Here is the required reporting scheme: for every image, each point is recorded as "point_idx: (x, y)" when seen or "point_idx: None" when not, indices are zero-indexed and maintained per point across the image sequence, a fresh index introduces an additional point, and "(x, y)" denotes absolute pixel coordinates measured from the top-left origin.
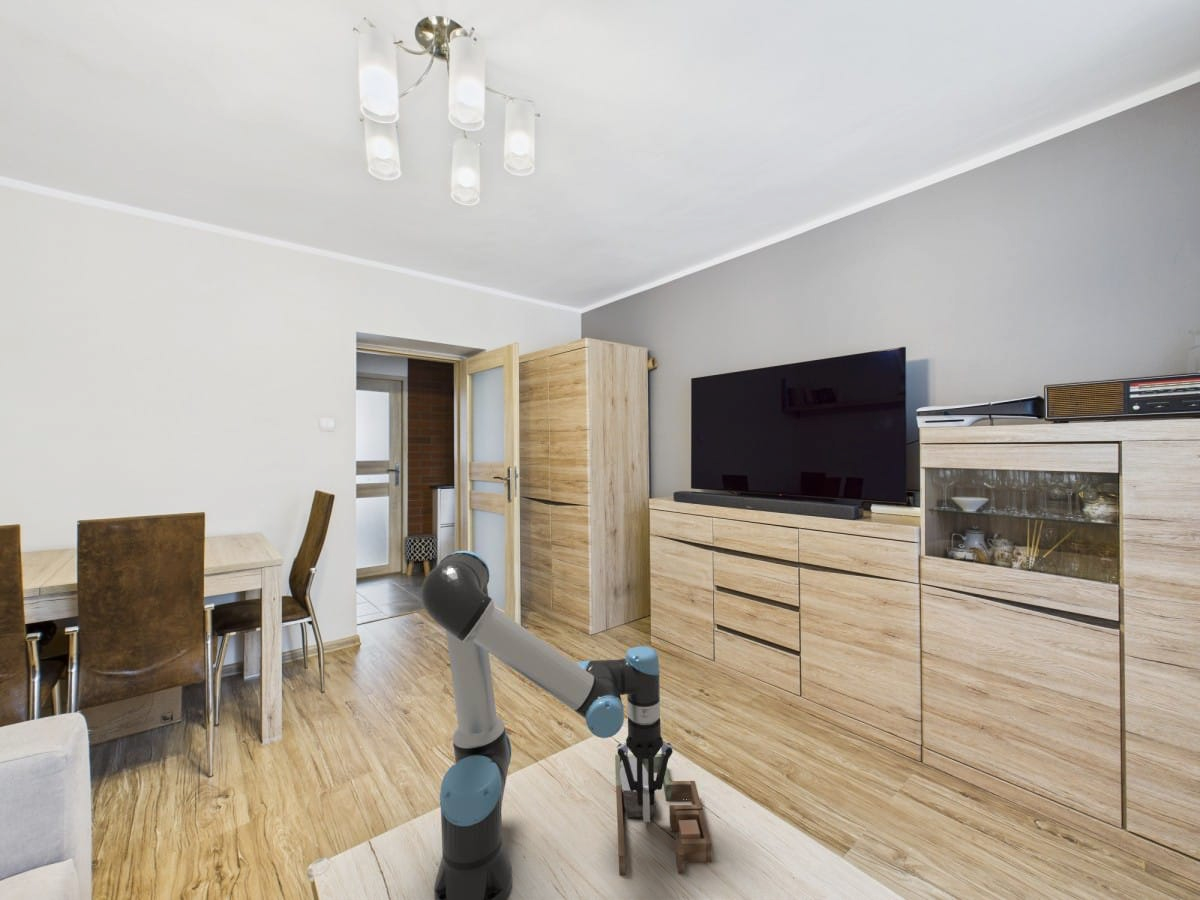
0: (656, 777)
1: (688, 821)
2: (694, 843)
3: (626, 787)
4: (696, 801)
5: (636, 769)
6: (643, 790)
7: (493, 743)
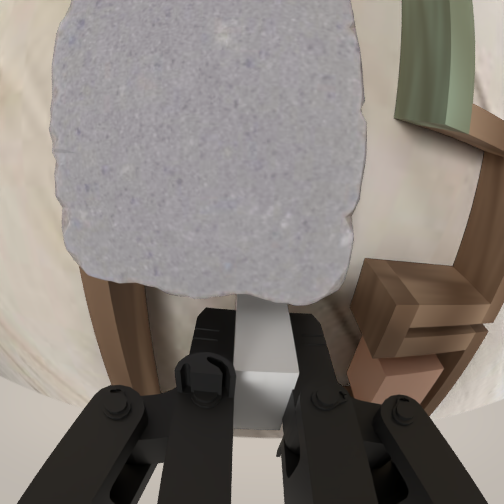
0: (395, 447)
1: (416, 378)
2: None
3: (98, 247)
4: (501, 287)
5: None
6: (239, 407)
7: None
